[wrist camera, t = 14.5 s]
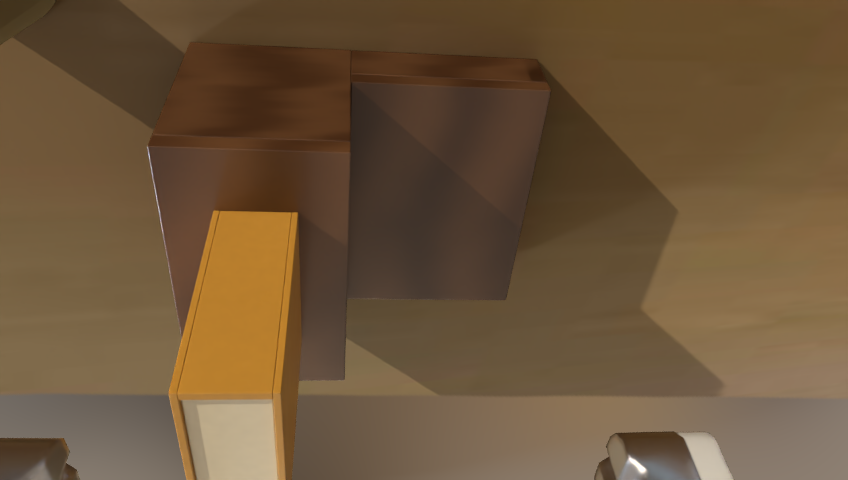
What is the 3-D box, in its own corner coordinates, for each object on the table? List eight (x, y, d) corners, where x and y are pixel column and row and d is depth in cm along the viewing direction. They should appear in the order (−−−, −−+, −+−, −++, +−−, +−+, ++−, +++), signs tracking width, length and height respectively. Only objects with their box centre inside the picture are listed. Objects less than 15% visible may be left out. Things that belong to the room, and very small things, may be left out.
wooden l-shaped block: (537, 58, 43) (583, 160, 34) (496, 262, 53) (524, 380, 44) (189, 41, 40) (146, 146, 32) (216, 258, 50) (189, 381, 42)
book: (298, 212, 35) (280, 392, 26) (301, 340, 41) (288, 522, 32) (213, 210, 34) (168, 393, 26) (229, 339, 40) (196, 525, 32)
